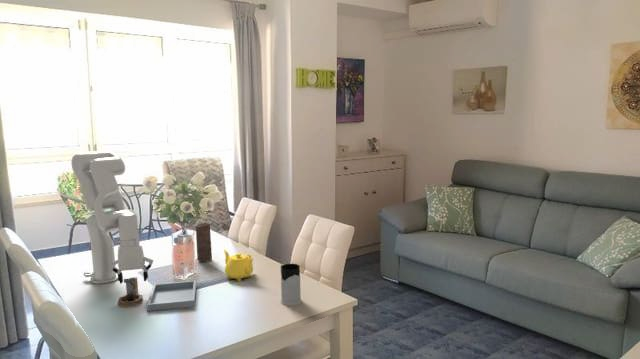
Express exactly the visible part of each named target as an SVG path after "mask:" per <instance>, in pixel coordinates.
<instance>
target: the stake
mask: <svg viewBox="0 0 640 359" xmlns="http://www.w3.org/2000/svg"><path fill="white" fill-rule="evenodd" d="M130 278H131V279H129V278H123V284H125V287H126V288H125V289H126V295H127V300H126V301H124V302H129V301H134V300H136V299H133V287H132V282H136V278H133V277H130Z"/></svg>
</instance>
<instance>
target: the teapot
mask: <svg viewBox="0 0 640 359" xmlns="http://www.w3.org/2000/svg"><path fill="white" fill-rule="evenodd" d="M223 251H224V254H225V266H224V273H225V275H226V276H227V279H230V280H231V279H236V282H242V279H243V278H244V279H245V278H250V277H251V274H252V273H253V272H254V268H253V260H254V259H255V257H253V258H252V255H251V254H249V253H248V254H242V253H241V252H238V253H235V254H234V255H232V256H230V254H229V252H228V251H227V250H226V249H225V250H223Z"/></svg>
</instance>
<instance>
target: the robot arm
mask: <svg viewBox="0 0 640 359" xmlns="http://www.w3.org/2000/svg"><path fill="white" fill-rule="evenodd" d="M71 169H72V172H73V174H74V175H75V177H76V179H77V180H78V183H79V185H80V188H81V193H82V197H83V201H84V204H85V207H86V209H87V210H88V211H89V212H93V213H94V214H91V215H89V216H88V217H87V219H86V227H87V228H86V229H87V231H88V234H89V241H90V248H91V259H92V260H91V262H92V269H93V270H91V271H84V272H83V276H84V277H85V278H90V279H89V280H90V282H91V283H92V284H97V285H99V284H100V285H101V284H110V283H113V282H116V281H118V282H119V284H120V285H122V284H123V283H124V278H123V272H124V271H132V270H133V271H134V270H142V271H143V273H142V274H143V281H144V282H146V281H147V279H149V274H148V273H149V272H148V271H149V270H150V269H151V268H152V265H153V263H154V259H151V258H148V257H145V254H144V253H145V252H144V249H143V246H142V243H140V233H139V223H138V216H137V214H136V213H135V212H132V211H130V210H128V209H126V208H125V205H124V204H125V203H124V199H123V196H122V194H121V192H120V190H119V189H120V187H119V184H118V181H117V179H116V176H121V175H124V173H125V171H126V166H125V163H124V161H123V159H122V158H121V157H120V156H119V155H117V154H116V153H114V152H112V151H111V150H96V151H84V152H83V151H81V152H79V153H76V154H74V155H73V156H72V158H71ZM109 209H111V210H109ZM104 210H107V211H104ZM108 210H109V211H108ZM116 231H118V233H119V239H118V240H116V242H115V243H116V245H119V246H118V249H117V260H116V255H115V245H114V240H113V239H112V237H111V236H109V235H108V233H111V232H116ZM146 262H147V263H148V265H146V264H145V263H146ZM116 265H117V267H116Z"/></svg>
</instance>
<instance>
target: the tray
mask: <svg viewBox="0 0 640 359" xmlns="http://www.w3.org/2000/svg"><path fill="white" fill-rule="evenodd" d="M196 295H197V280H196V279H195V280H186V281H185V280H183V281H176V282H175V281H174V282H163V283H162V282H161V283H154V284H153V286H152V288H151V290H150V295H149V298H148V300H147V303H146V310H147V313H150V312H151V313H152V312H162V311H172V310H180V309H191V308H192V309H193V308H195V307H196V306H195V305H196V297H197V296H196Z"/></svg>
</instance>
